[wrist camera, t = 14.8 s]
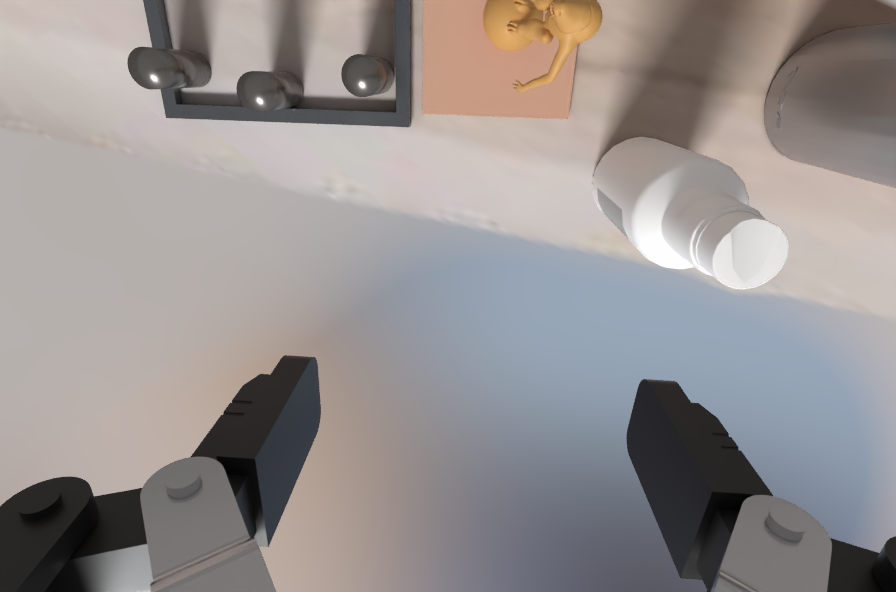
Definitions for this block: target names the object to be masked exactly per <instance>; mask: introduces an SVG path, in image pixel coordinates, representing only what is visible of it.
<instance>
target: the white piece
mask: <svg viewBox="0 0 896 592" xmlns="http://www.w3.org/2000/svg"><path fill="white" fill-rule="evenodd" d="M592 189H593V197H594V199H595V202H596V204H597V206H598V208H599V209H600V210H601V211H602V212H603V213H604V214H605V215H606V216H607V217H608V218H609V219H610V220H611V221H612V223H613V224H614V225H615V226H616V227H617V228H618V229H619V230H620V231H621V232H622V233H623V234H624V235H625V236H626V237H627V238H628V239H629V240H630V241H631V243H632V244H633V245H634V246H635V247H636V248H637V249H638V250H639V251H640V252H641V253H642V254H643V255H644V256H645V257H646V258H647V259H648V260H650V261H652V262H654V263H656V264H658V265H660V266H662V267H667V268H675V269H686V268H693V267H696V268H697V269H698V270H699V271H701V272H703V273H705V274H707V275H709V276H714V277H715V278H716V279H717V280H718V281H720V282H721V283H722V284H724V285H726V286H728V287H730V288H736V289H748V288H754V287H757V286H759V285H762V284H764V283H766V282H767V281H769V280H770V279H771V278H773V277H774V276H775V275H776V274H777V273H778V272H779V271H780V269H781V268H782V267H783V265H784V263H785V261H786V258H787V256H788V248H789V244H788V241H787V237H786V234H785V233H784V232H783V230H782V229H781V228H780V227H779V226H777V225H775V224H773V223H771V222H769V221H767V220H765V218H764V217H763V216H762V215H761V214H760V212H759V211H758V210H756V209H754V208H752V207H750V206H749V197H748V194H747V191H746V187H745V184H744V182H743V181H742V179H741V178H740V177H739V176H738V175H737V173H736V172H735V171H734V170H733V169H732V168H731V167H729V166H727V165H725V164H724V163H722V162H720V161H718V160H716V159H713V158H710V157H707V156H704V155H701V154H698V153H695V152H693V151H690V150H687V149H684V148H681V147H678V146H675V145H672V144H669V143H666V142H664V141H661V140H658V139H655V138H648V137H636V138H631V139H626V140H625V141H623V142H621V143H619V144H617V145H615V146H613V147H612V148H611V149H610V150H609V151H608V152H607V153H606V154H605V155H604V156H603V157H602V159H601V160H600V162H599V164H598V165H597V167H596V169H595V172H594V177H593V181H592Z"/></svg>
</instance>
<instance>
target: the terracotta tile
mask: <svg viewBox="0 0 896 592" xmlns="http://www.w3.org/2000/svg"><path fill="white" fill-rule="evenodd" d="M486 2H487V0H423V103H422V114H445V115H472V116H499V117H525V118H552V119H568V117H569V109H570V101H571V93H572V85H573V77H574V69H575V61H576V54H577V46H578V44H577V45H576V46H575V48H574V49H573V51H572V52H571V53H570V54H569V56H568V57H567V59H566V61H565V63H564V65H563V67H562V68H561V70H560V72H559V74H558V75H557V77H556V78H555V80H554V81H553V82H551V83H548V84H543V85H541V86H538V87H535V88H533V89H528V90H526V91H524V92H518V91H517V90H515V89H514V87H516V86H514V85H512V83H514V84H518V83H517V82H516V81H515V80H518V81H519V82H520V83H521V84H523V85H524V84H526V83H527V82H529V81H530V80H532V79H535V78H538V77H541V76H542V75H545V74H547V73H548V72H549V69H550V67H551V64H552V62H553V59H554V57H555V55H556V53H557V51H558V48H559V40H558V39H557V38H556V37H555V36H554V37H553V39H552V41H551V42H550V43H548V44H544V43H542V42H540V41H537V40H536V41H535V40H534V41H533V42H532V43H531V44H529V45H528V46H527V47H525V48H523V49H521V50H517V51H505V50H502V49H500V48H498V47H496V46H495V45H494V44H493V43H492V42H491V41H490V40H489V38H488V37H487V35H486V33H485V30H484V25H483V12H484V8H485V5H486ZM546 13H547V11H543V22H545V14H546Z"/></svg>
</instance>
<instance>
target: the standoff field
mask: <svg viewBox="0 0 896 592" xmlns="http://www.w3.org/2000/svg"><path fill="white" fill-rule="evenodd" d="M143 1H144V7H145V12H146V17H147V22H148V27H149V32H150V37H151V42H152V47H153V48H150V47H138V48H135V49H134V50H133V51H132V52H131V53H130V55H129V57H128V69H129V72H130V74H131V76H132V78H133V79H134V80H135V81H136V82H137V83H138V84H139V85H140V86H142V87H144V88H147V89H161V93H162V99H163V104H164V109H165V114H166V118H185V119H212V120H238V121H264V122H290V123H316V124H343V125H369V126H395V127H410V0H395V56H396V112H385V111H359V110H332V109H305V108H289V107H294V106H296V105H298V104H299V103H300V102H301V100H302V98H303V93H304V92H303V86H302V83H301V81H300V80H299V79H298V78H297V77H296V76H295V75H294V74H292V73H289V72H262V71H250V72H247V73H245V74H243V75H242V76H241V77H240V79H239V80H238V83H237V94H238V97H239V100H240V101H241V103H242V104H243V105H244V106H224V105H198V104H182V101H181V96H180V90H179V88H193V87H203V86H205V85H206V84H207V83H208V82H209V81H210V78H211V67H210V65H209V63H208V61H207V60H206V58H205V57H204V56H203V55H201V54H200V53H198V52H195V51H185V50H173V49H172V46H171V41H170V35H169V30H168V24H167V19H166V13H165V8H164V2H163V0H143ZM342 81H343V84H344V86H345V87H346V89H347V90H348V91H349V92H350V93H352V94H353V95H355V96H358V97H366V96H371V95H376V94H381V93H384V92H386V91H388V90H389V89H390V88H391V86H392V84H393V81H394V73H393V69H392V67H391V65H390V64H389V63H388V62H387V61H386V60H384V59H382V58H378V57H373V56H368V55H362V54H357V55H353V56H351V57H350V58H348V59H347V60H346V61H345V63H344V65H343V67H342Z"/></svg>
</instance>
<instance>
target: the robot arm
mask: <svg viewBox="0 0 896 592" xmlns="http://www.w3.org/2000/svg"><path fill="white" fill-rule="evenodd" d="M764 123H765V128H766V131H767V135H768V137H769V139H770V141H771V143H772V144H773V146H774V147H775V148H776V149H777V150H778V151H779V152H780V153H781V154H782V155H784V156H786V157H788V158H790V159H791V160H795V161H798V162H802V163H805V164H809V165H813V166H816V167H820V168H824V169H827V170H830V171H834V172H837V173H841V174H845V175H849V176H852V177H856V178H860V179H864V180H867V181H871V182H875V183H879V184H882V185H886V186H890V187H894V188H896V22H895V23H885V24H877V25H869V26H861V27H853V28H846V29H840V30H835V31H831V32H829V33H826V34H823V35H821V36H818V37H816V38H815V39H813V40H812V41H810V42H808V43H807V44H805V45H803V46H802V47H801V48H800V49H799V50H798V51H797V52H795V53H794V54H793V55H792V56H791V57H790V58H789V59H788V60H787V62H786V63H785V64H784V65H783V66H782V68H781V69H780V70H779V72H778V74H777V75H776V77H775V79H774V80H773V82H772V84H771V87H770V90H769V92H768V95H767V98H766V104H765V109H764ZM320 406H321V405H320V392H319V379H318V365H317V360H316V358H315V357H302V356H301V357H300V356H287V355H286V356H283V357H282V358H281V360H280V362H279V363H278V364H277V366H276V368H275V369H274V370H273V372H272V373H271V375H268V374H260V375H258V376H257V377H255V378H254V379H252V380H251V381H249V382H248V383H246V384H245V385H243V386H242V388H241V389H240V390H239V392H238V393H237V395H236V396H235V397H234V399H233V400H232V403H230V404H229V405H228V407H227V408H226V410H225V411H224V414H223V415H221V416H220V418H219V419H218V420H217V422H216V423H215V425H214V426H213V427H212V429H211V430H210V431H209V433H208V434H207V435H206V437H205V438H204V439H203V441H202V442H201V444H200V445H199V446H198V448H197V449H196V450H195V452H194V453H193V455H192V456H191V457H190V458H185V459H182V460H178V461H175V462H173V463H170V464H169V465H167V466H165V467H163V468H161V469H160V470H158V471H157V472H156V473H154V474H153V475H152V476H151V477H150V478H149V479H148V480H147V482H146V483H145V484H144V486H143V488H139V489H135V490H129V491H124V492H117V493H112V494H106V495H101V496H95V497H94V496H93V493H92V490H91V487H90V485H89V484H88V482H86V481H85V480H83V479H81V478H77V477H60V478H54V479H50V480H46V481H43V482H40V483H37V484H35V485H32V486H30V487H28V488H26V489H24V490H22V491H21V492H19V493H17V494H15V495H14V496H12V497H11V498H10V499H9V500H7V501H6V502H5V503H4V504H2V506H0V592H276V590H275V588H274V585H273V582H272V580H271V577H270V574H269V572H268V569H267V567H266V564H265V561H264V559H263V556H262V554H261V551H260V548H259V546H260V547H269V544H270V542H271V539H272V537H273V535H274V532H275V530H276V528H277V526H278V523H279V521H280V519H281V516H282V514H283V512H284V509H285V507H286V504H287V502H288V500H289V498H290V495H291V493H292V490H293V488H294V486H295V483H296V481H297V479H298V476H299V474H300V472H301V469H302V467H303V465H304V462H305V460H306V458H307V455H308V453H309V451H310V448H311V446H312V443H313V441H314V439H315V437H316V434H317V432H318V428H319V423H320V415H321V407H320ZM627 449H628V453H629V456H630V459H631V461H632V464H633V466H634V468H635V471H636V473H637V475H638V478H639V480H640V483H641V485H642V487H643V490H644V492H645V494H646V497H647V499H648V502H649V504H650V506H651V509H652V511H653V514H654V516H655V518H656V521H657V523H658V526H659V528H660V530H661V533H662V535H663V538H664V540H665V542H666V544H667V547H668V550H669V552H670V554H671V557H672V559H673V562H674V564H675V566H676V569H677V571H678V573H679V576H680V578H685V579H700V580H703V582H704V584H705V586H706V588H707V592H896V537H893V538H890V539H889V540H888V541H887V542H886V544H885V545H884V547H883V549H882V550H881V552H880V553H877V552H873V551H870V550H867V549H863V548H860V547H857V546H854V545H850V544H847V543H844V542H841V541H837V540H834V539H831V538H830V537H829V535H828V533H827V531H826V530H825V529H824V527H823V526H822V525H821V524H820V523H819V522H818V521H817V520H816V519H815V518H814V517H813V516H811V515H810V514H809V513H808V512H806V511H805V510H803V509H802V508H800V507H798V506H796V505H795V504H793V503H791V502H788V501H786V500H783V499H781V498H777V497H774V496H773V495H772V493H771V492H770V491H769V489H768V488H767V486H766V485H765V484H764V482H763V481H762V479H761V478H760V477H759V475H758V474H757V472H756V471H755V470H754V468H753V467H752V466H751V464H750V463H749V461H748V460H747V459H746V457H745V456H744V455H743V453H742V452H741V451H739V450H738V446H737V445H736V443H735V442H734V441H733V440H732V438H731V437H729V436H728V432H727V431H726V430H725V428H724V427H723V425H722V424H721V423H720V421H719V420H718V418H717V417H715V416H714V415H713V414H711V413H710V412H709V411H708V410H706V409H705V408H704V407H702V406H701V405H700V404H699V403H691V402H690V400H689V399H688V397H687V396H686V395H685V393H684V392H683V390H682V389H681V387H680V386H679V384H678V383H677V382H675V381H663V380H647V379H643V380H642V381H641V382H640V384H639V387H638V390H637V394H636V398H635V402H634V406H633V410H632V414H631V418H630V422H629V426H628V430H627Z"/></svg>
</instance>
